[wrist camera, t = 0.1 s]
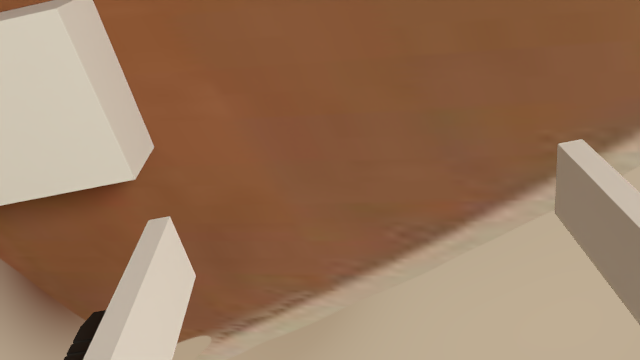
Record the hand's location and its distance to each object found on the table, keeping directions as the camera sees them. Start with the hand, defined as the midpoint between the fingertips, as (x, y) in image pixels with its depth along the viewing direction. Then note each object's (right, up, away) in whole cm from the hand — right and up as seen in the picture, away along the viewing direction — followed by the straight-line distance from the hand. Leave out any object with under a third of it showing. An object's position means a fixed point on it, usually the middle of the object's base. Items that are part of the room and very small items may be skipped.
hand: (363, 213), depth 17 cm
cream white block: (-25, +9, +27) cm, 38 cm away
